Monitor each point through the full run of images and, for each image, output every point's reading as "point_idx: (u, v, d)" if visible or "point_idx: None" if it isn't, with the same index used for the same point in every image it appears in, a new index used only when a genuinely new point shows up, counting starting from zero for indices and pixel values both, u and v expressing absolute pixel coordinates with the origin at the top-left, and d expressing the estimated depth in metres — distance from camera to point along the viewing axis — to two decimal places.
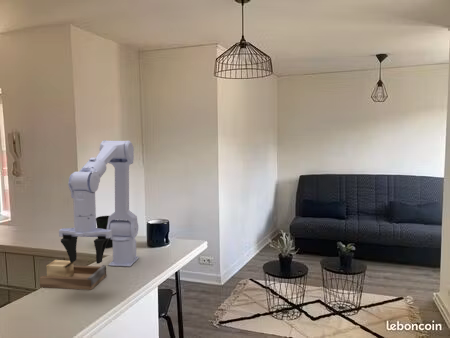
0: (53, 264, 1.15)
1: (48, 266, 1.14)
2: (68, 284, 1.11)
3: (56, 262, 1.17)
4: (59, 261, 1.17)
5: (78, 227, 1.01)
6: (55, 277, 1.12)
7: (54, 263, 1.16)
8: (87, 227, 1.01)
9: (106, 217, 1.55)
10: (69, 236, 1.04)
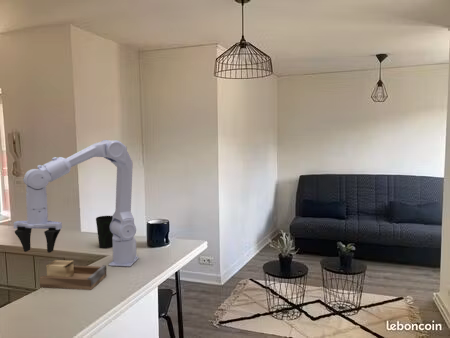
0: (53, 264, 1.15)
1: (48, 266, 1.14)
2: (68, 284, 1.11)
3: (56, 262, 1.17)
4: (59, 261, 1.17)
5: (30, 220, 1.12)
6: (55, 277, 1.12)
7: (54, 263, 1.16)
8: (38, 219, 1.12)
9: (106, 217, 1.55)
10: (23, 228, 1.15)
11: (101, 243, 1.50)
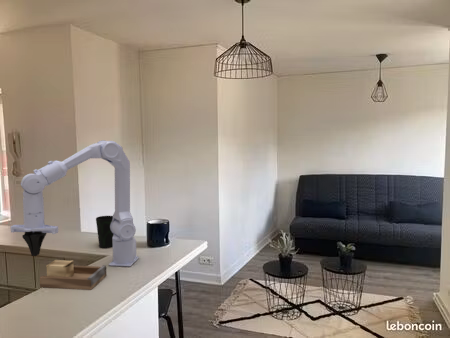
0: (53, 264, 1.15)
1: (48, 266, 1.14)
2: (68, 284, 1.11)
3: (56, 262, 1.17)
4: (59, 261, 1.17)
5: (27, 224, 1.13)
6: (55, 277, 1.12)
7: (54, 263, 1.16)
8: (35, 224, 1.13)
9: (106, 217, 1.55)
10: (30, 232, 1.15)
11: (101, 243, 1.50)
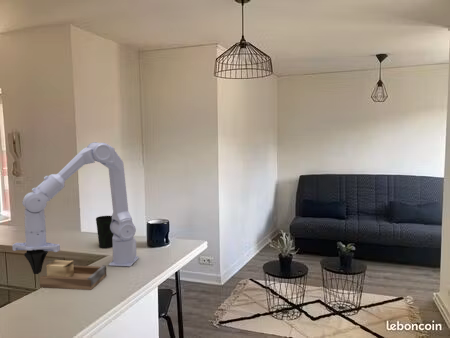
0: (53, 264, 1.15)
1: (48, 266, 1.14)
2: (68, 284, 1.11)
3: (56, 262, 1.17)
4: (59, 261, 1.17)
5: (28, 242, 1.14)
6: (55, 277, 1.12)
7: (54, 263, 1.16)
8: (37, 242, 1.14)
9: (106, 217, 1.55)
10: (32, 250, 1.16)
11: (101, 243, 1.50)
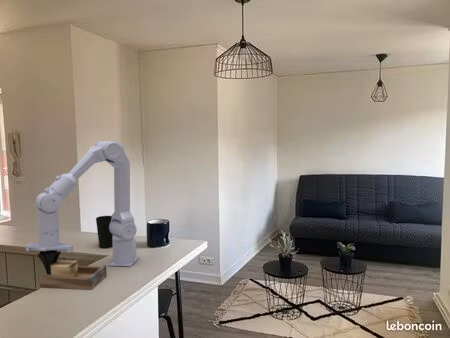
0: (57, 264, 1.15)
1: (52, 266, 1.14)
2: (68, 284, 1.11)
3: (60, 262, 1.17)
4: (63, 262, 1.17)
5: (42, 243, 1.13)
6: (55, 277, 1.12)
7: (58, 263, 1.16)
8: (50, 243, 1.14)
9: (106, 217, 1.55)
10: (45, 251, 1.15)
11: (101, 243, 1.50)
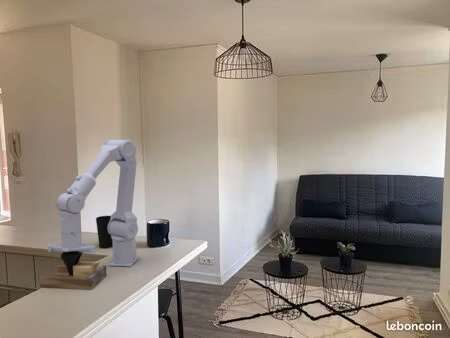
0: (79, 265, 1.14)
1: (75, 267, 1.13)
2: (68, 284, 1.11)
3: (82, 263, 1.16)
4: (85, 262, 1.17)
5: (65, 244, 1.12)
6: (55, 277, 1.12)
7: (80, 264, 1.15)
8: (73, 243, 1.13)
9: (106, 217, 1.55)
10: (68, 252, 1.15)
11: (101, 243, 1.50)
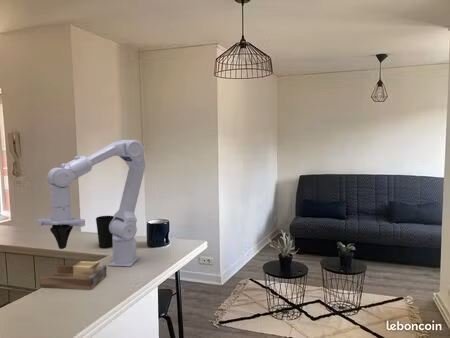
0: (79, 265, 1.14)
1: (75, 267, 1.13)
2: (68, 284, 1.11)
3: (82, 263, 1.16)
4: (85, 262, 1.17)
5: (54, 217, 1.15)
6: (55, 277, 1.12)
7: (80, 264, 1.15)
8: (63, 217, 1.15)
9: (106, 217, 1.55)
10: (58, 225, 1.17)
11: (101, 243, 1.50)
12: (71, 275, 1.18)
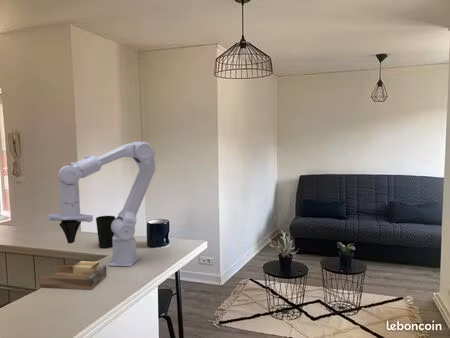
0: (79, 265, 1.14)
1: (75, 267, 1.13)
2: (68, 284, 1.11)
3: (82, 263, 1.16)
4: (85, 262, 1.17)
5: (64, 213, 1.20)
6: (55, 277, 1.12)
7: (80, 264, 1.15)
8: (71, 213, 1.20)
9: (106, 217, 1.55)
10: (66, 221, 1.22)
11: (101, 243, 1.50)
12: (71, 275, 1.18)
